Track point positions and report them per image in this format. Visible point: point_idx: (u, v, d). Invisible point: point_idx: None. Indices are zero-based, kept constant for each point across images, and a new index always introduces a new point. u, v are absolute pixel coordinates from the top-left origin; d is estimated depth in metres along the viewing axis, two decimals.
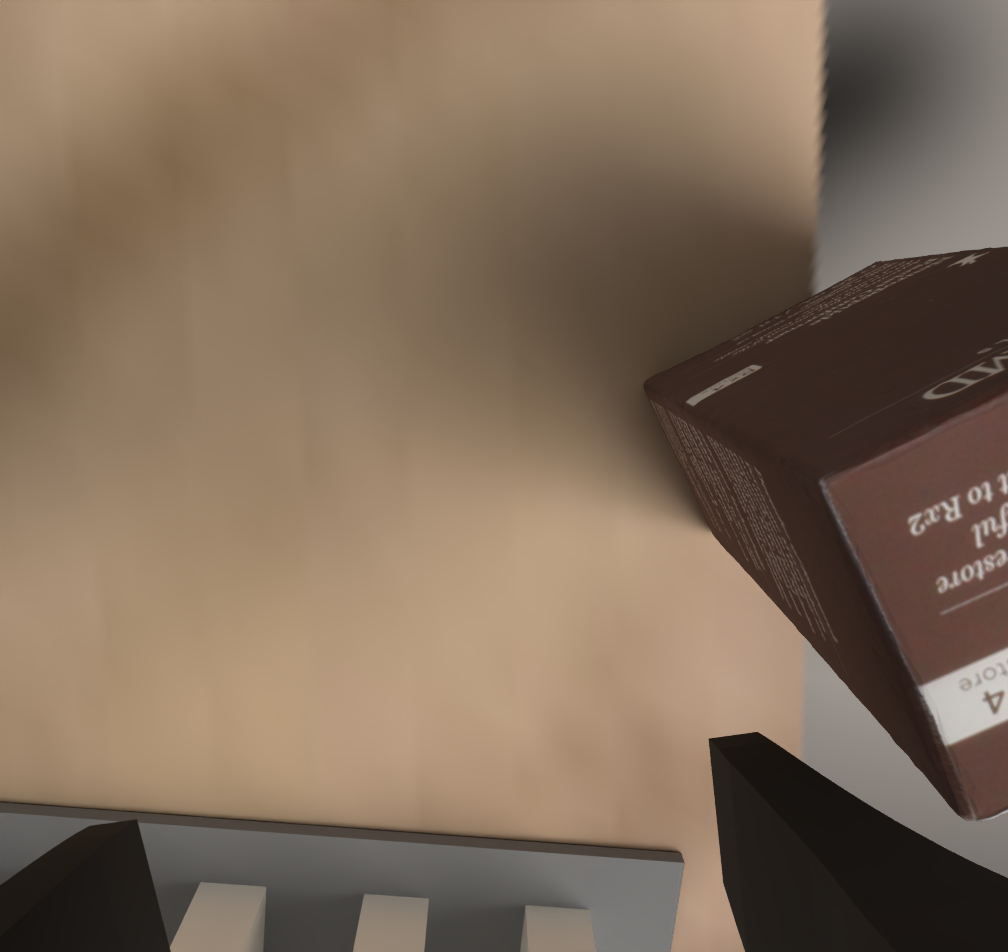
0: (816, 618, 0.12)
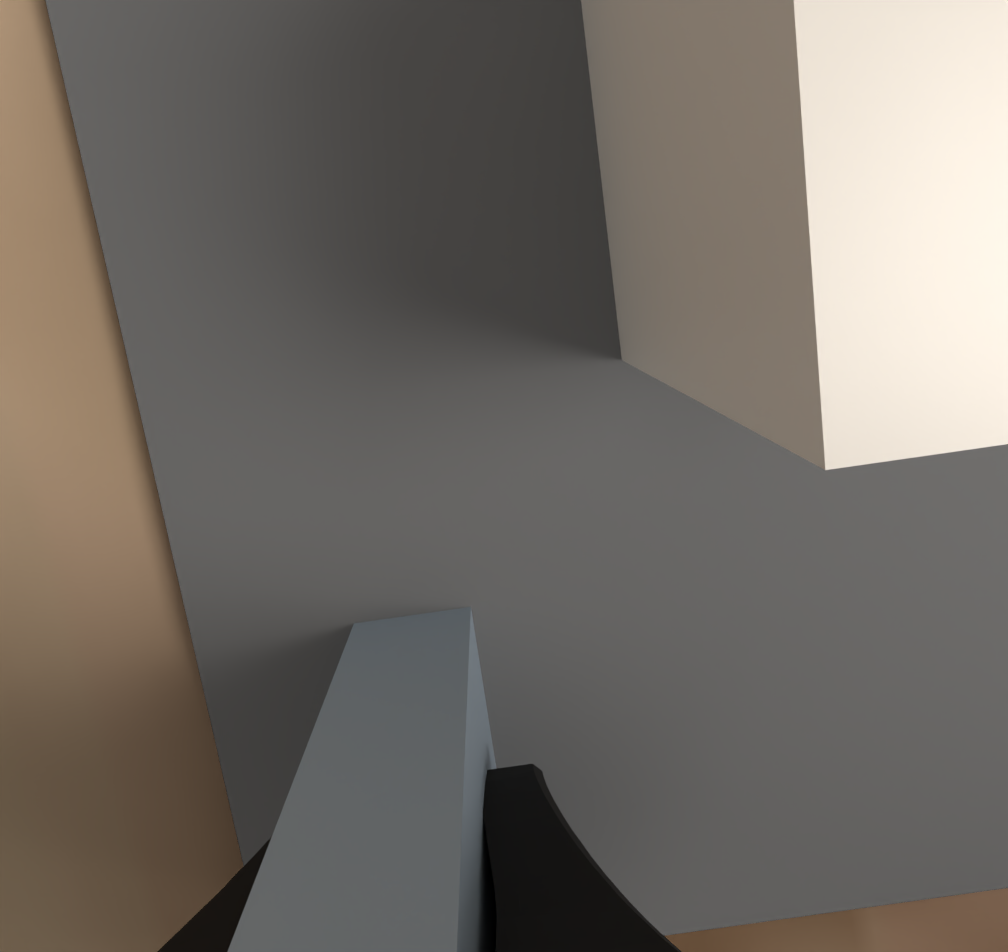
0: None
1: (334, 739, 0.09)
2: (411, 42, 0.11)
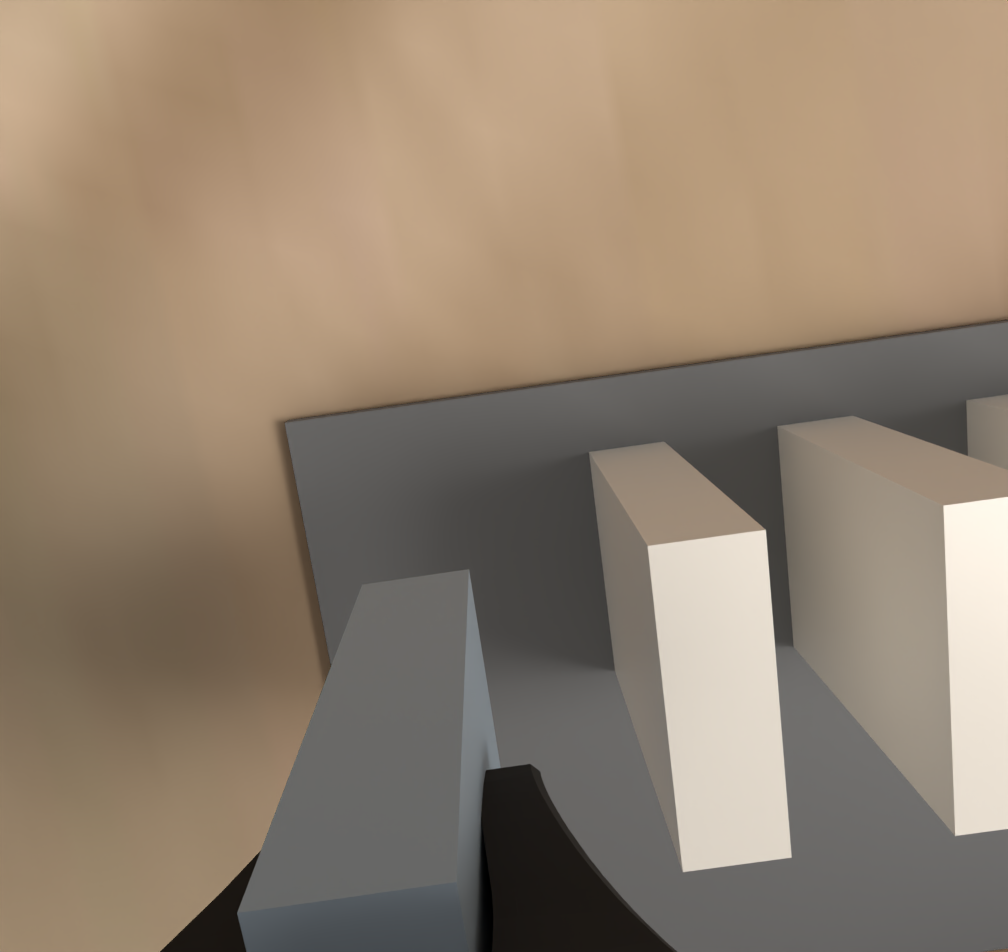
0: None
1: (348, 678, 0.10)
2: (498, 507, 0.19)
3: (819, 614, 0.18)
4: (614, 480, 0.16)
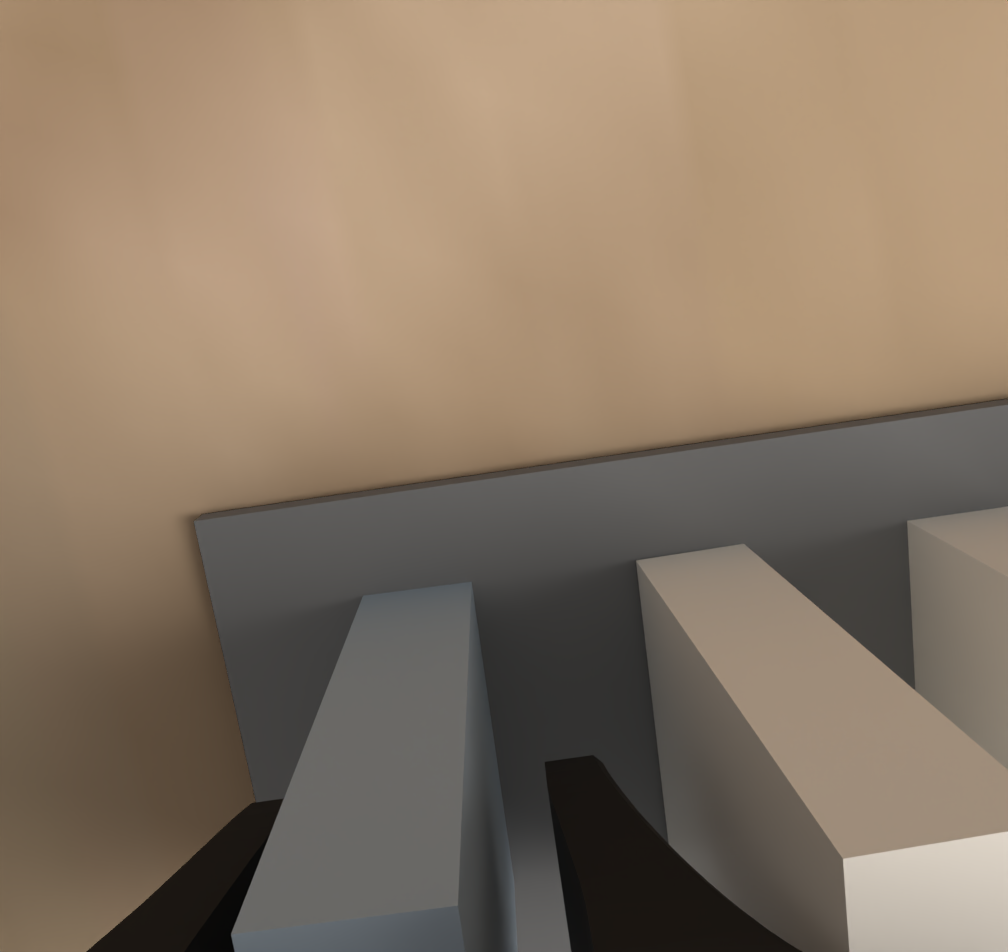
0: None
1: (348, 691, 0.10)
2: (504, 637, 0.13)
3: None
4: (699, 634, 0.10)
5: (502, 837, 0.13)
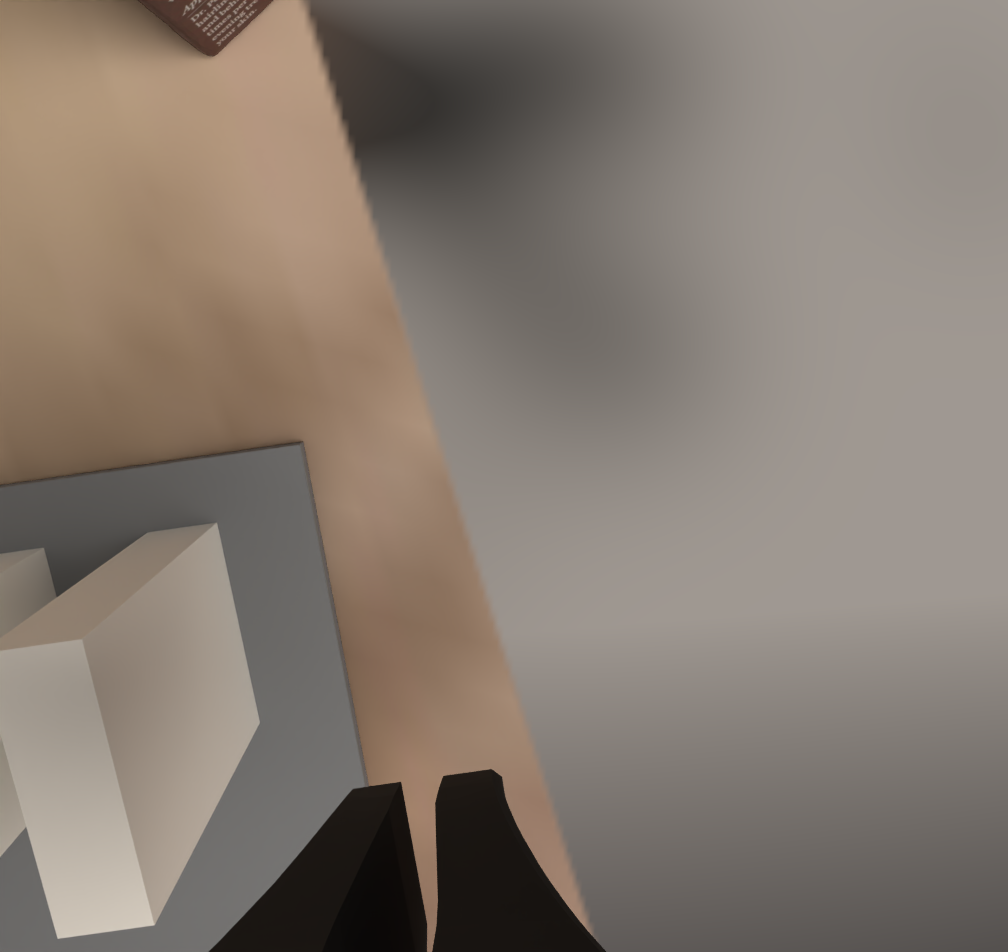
0: None
1: None
2: None
3: None
4: None
5: None
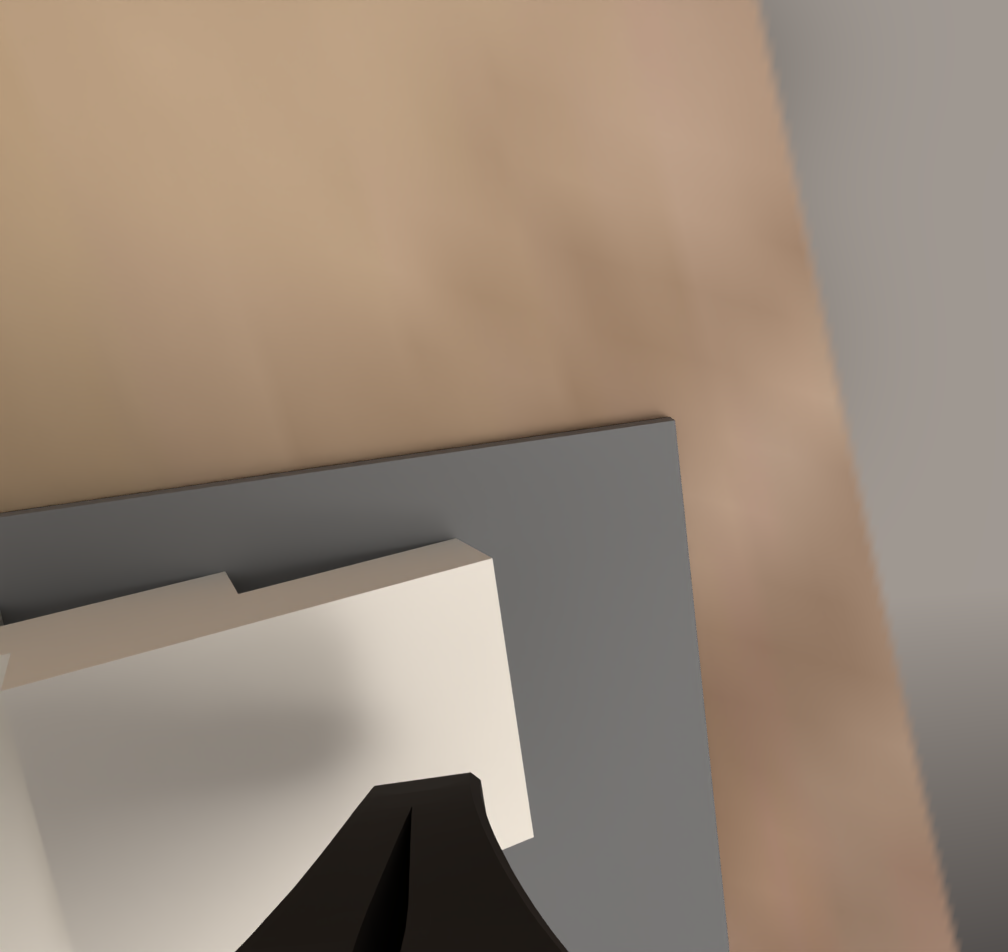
0: None
1: None
2: None
3: None
4: None
5: None
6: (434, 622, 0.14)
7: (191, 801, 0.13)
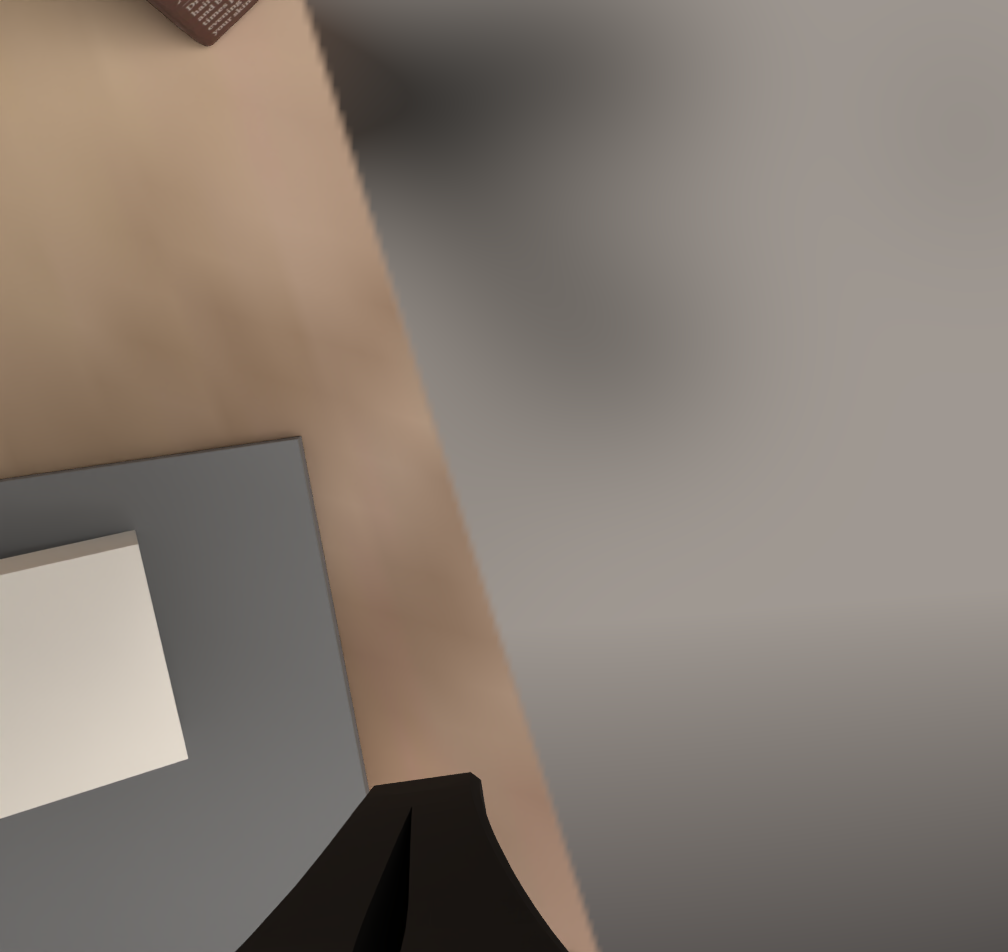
0: None
1: None
2: None
3: None
4: None
5: None
6: (89, 592, 0.19)
7: None
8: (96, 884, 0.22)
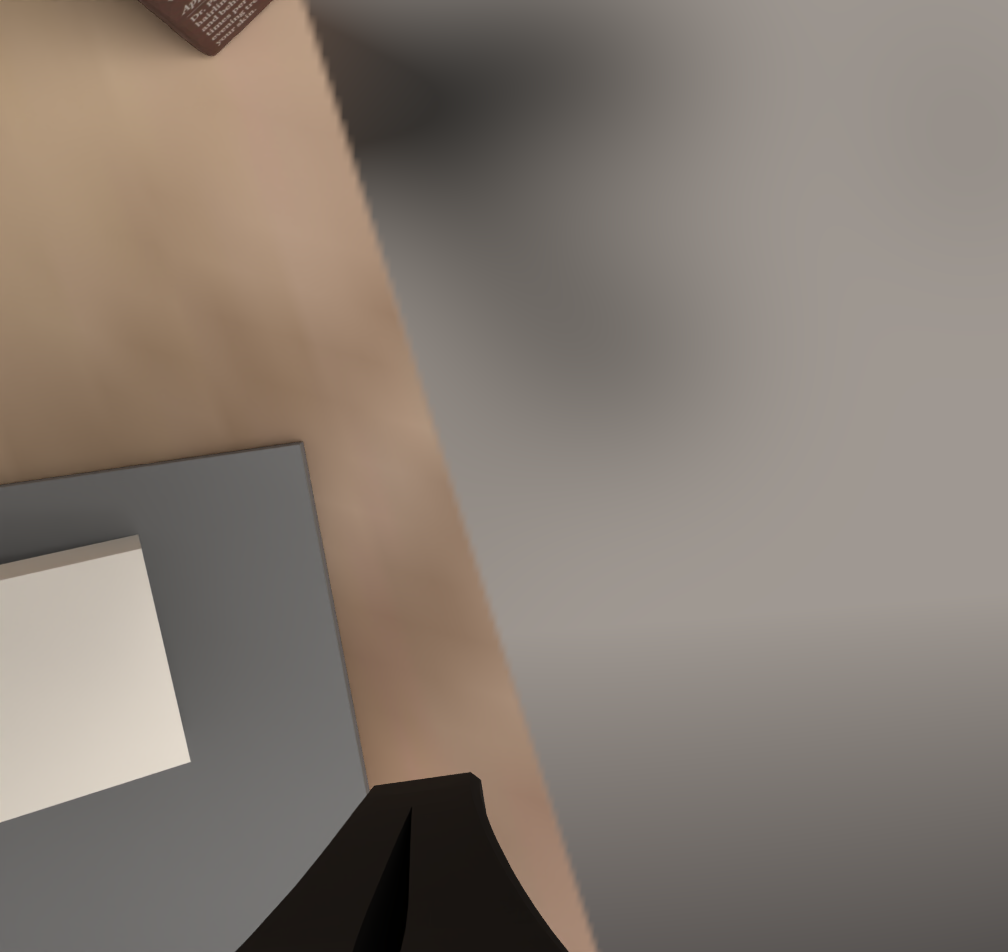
0: None
1: None
2: None
3: None
4: None
5: None
6: (93, 596, 0.19)
7: None
8: (98, 887, 0.22)
